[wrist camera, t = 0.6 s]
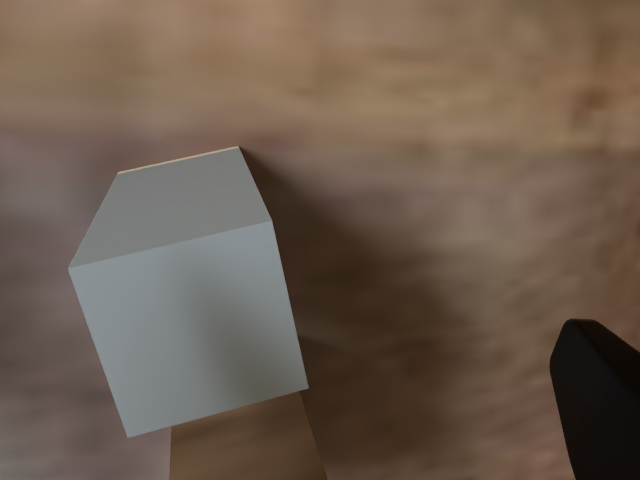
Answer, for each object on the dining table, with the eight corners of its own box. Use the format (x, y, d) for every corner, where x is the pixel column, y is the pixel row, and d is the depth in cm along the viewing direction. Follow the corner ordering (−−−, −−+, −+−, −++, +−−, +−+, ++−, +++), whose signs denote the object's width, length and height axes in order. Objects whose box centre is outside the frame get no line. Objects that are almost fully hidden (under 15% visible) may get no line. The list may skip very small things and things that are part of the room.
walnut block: (300, 417, 27) (358, 614, 18) (201, 445, 27) (208, 664, 17) (280, 330, 26) (332, 496, 16) (174, 357, 25) (166, 546, 16)
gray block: (263, 254, 24) (308, 388, 15) (151, 281, 24) (127, 438, 15) (238, 145, 23) (271, 220, 14) (118, 172, 22) (67, 268, 13)
